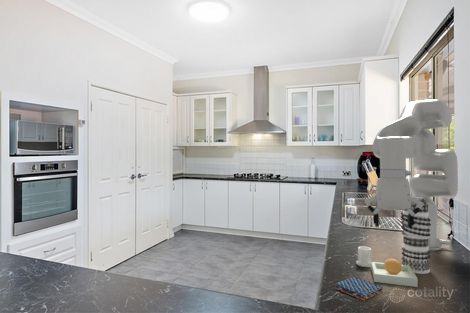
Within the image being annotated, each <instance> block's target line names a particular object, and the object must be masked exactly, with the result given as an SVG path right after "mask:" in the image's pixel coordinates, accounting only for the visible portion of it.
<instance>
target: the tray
mask: <svg viewBox="0 0 470 313" xmlns="http://www.w3.org/2000/svg"><path fill="white" fill-rule="evenodd" d="M384 264H385V262H377V261H371V267H370V269H371V273H372V274H371V275H372V276H373V281H374V283H381V284H389V285H398V286H406V287H414V288H418V287H419V286H418V282H419V281H418V277H417V276H416V273H414V272H413V270H412V268H411V267H410V266H408V265H402V264H401V271H400V273H398V274H396V275H392V274H389V273H388V272H387V271H386V270H385V267H384Z"/></svg>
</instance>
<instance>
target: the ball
mask: <svg viewBox="0 0 470 313" xmlns="http://www.w3.org/2000/svg"><path fill="white" fill-rule="evenodd" d="M384 263H385V264H384V267H385V270H386V271H387V272H388V273H389V274H392V275H396V274H398V273H400V271H401V265H402V263H400V261H398V260H397V259H395V258H388V259H386V260H385V262H384Z"/></svg>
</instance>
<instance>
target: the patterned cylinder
mask: <svg viewBox="0 0 470 313" xmlns="http://www.w3.org/2000/svg"><path fill="white" fill-rule="evenodd" d="M413 198H415V199H417V200H419V201H421V202H423V203H424V204H423V206H422V208H421V209H420V211H419V212H418V213H417V214H415V216H414V226H412V229H410V228H409V227H408V214H409V212H408V211H407V210H402V212H401V213H400V219H401V220H402V221H401V229H402V231H401V235H402V236H403V241H402V242H403V243H402V247H401V251H402V252H401V255H402V256H401V260H402V262H401V265H408V266H410V267H411V268H412V270H413V272H414V273H415V274H419V275H425V274H430V272H431V271H430V267H431V266H430V264H431V261H430V260H429V259H431V256H430V254H431V251H430V250H429V245H428V238H430V234H429V233H428V232H430V229H428V226H430V225H431V224H430V223H428V222H429V221H431V219H429V218H428V216H429V212H428V204H429V203H428V202H427V201H426V199H424V198H419V197H413ZM416 206H417V204H416V203H414V202H412V201H411V208H410V209H411V210H413V209H414V208H415V207H416Z"/></svg>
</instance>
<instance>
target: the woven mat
mask: <svg viewBox="0 0 470 313" xmlns="http://www.w3.org/2000/svg"><path fill="white" fill-rule="evenodd" d="M334 289H335V290H338V291H340V292H342V293H345V294H347V295H350V296H352V297H353V298H357V299H359V300H362V301H366V300H367V299H371V298H373V297H375V296H376V295H379V294H382V293H383V292H384V289H383V286H381V284H378V285H377V284H376V282H374V283H371V281H366V279H362V278H357V276H354V277H353V276H352V277H350V278H347V279H344V280H341V281H338V282H337V283H335V285H334Z"/></svg>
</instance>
